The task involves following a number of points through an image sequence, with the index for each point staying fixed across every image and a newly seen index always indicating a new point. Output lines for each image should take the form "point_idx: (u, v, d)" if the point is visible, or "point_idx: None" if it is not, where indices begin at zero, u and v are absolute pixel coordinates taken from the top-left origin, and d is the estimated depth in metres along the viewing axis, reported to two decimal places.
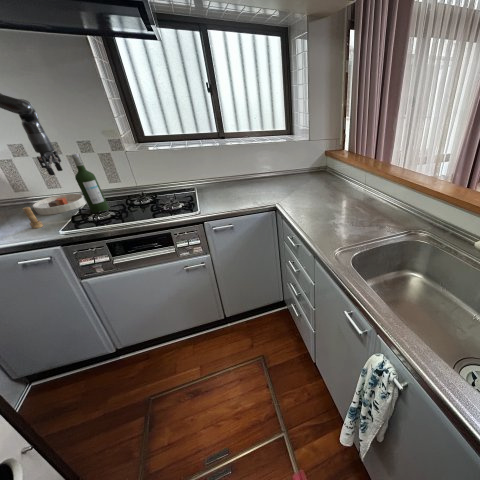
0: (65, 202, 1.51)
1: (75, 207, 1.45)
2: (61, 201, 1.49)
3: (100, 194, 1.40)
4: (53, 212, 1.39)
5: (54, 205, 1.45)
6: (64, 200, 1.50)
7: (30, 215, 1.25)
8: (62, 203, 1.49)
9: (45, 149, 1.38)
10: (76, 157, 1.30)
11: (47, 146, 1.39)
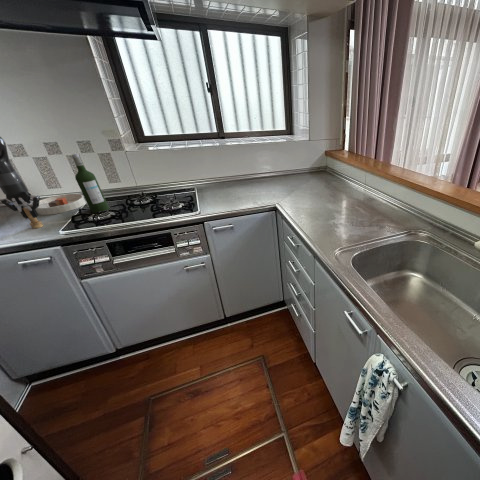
0: (65, 202, 1.51)
1: (75, 207, 1.45)
2: (61, 201, 1.49)
3: (100, 194, 1.40)
4: (53, 212, 1.39)
5: (54, 205, 1.45)
6: (64, 200, 1.50)
7: (30, 215, 1.25)
8: (62, 203, 1.49)
9: None
10: (76, 157, 1.30)
11: (2, 188, 1.15)
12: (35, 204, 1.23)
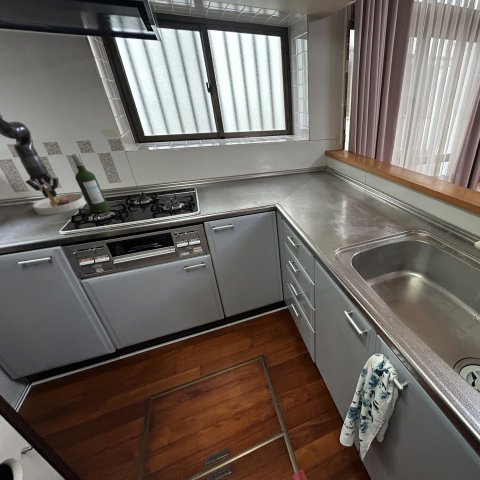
0: None
1: (75, 207, 1.45)
2: None
3: (100, 194, 1.40)
4: (53, 212, 1.39)
5: (63, 204, 1.46)
6: None
7: (50, 194, 1.43)
8: None
9: (27, 172, 1.34)
10: (76, 157, 1.30)
11: (27, 170, 1.33)
12: (55, 185, 1.41)
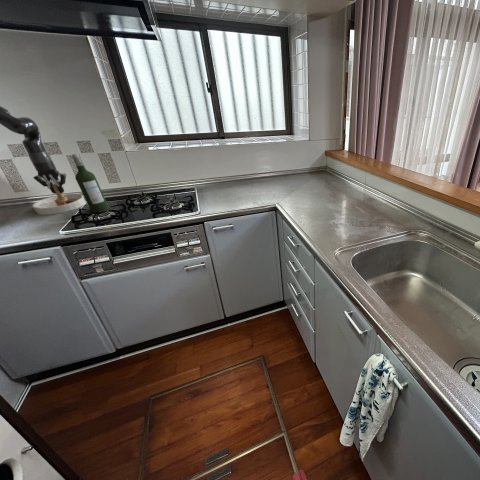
0: (65, 202, 1.51)
1: (75, 207, 1.45)
2: None
3: (100, 194, 1.40)
4: (53, 212, 1.39)
5: None
6: None
7: (57, 190, 1.43)
8: (62, 203, 1.49)
9: (35, 168, 1.34)
10: (76, 157, 1.30)
11: (35, 166, 1.33)
12: (62, 181, 1.41)
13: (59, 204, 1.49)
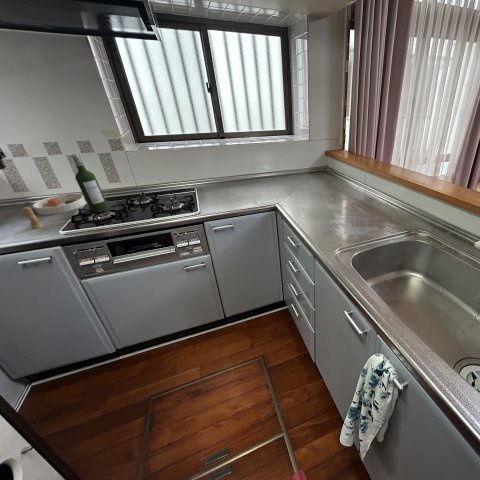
0: (57, 203, 1.50)
1: (75, 207, 1.45)
2: (53, 202, 1.48)
3: (100, 194, 1.40)
4: (53, 212, 1.39)
5: None
6: (56, 201, 1.49)
7: (30, 215, 1.25)
8: (54, 204, 1.48)
9: None
10: (76, 157, 1.30)
11: None
12: None
13: (51, 205, 1.48)
